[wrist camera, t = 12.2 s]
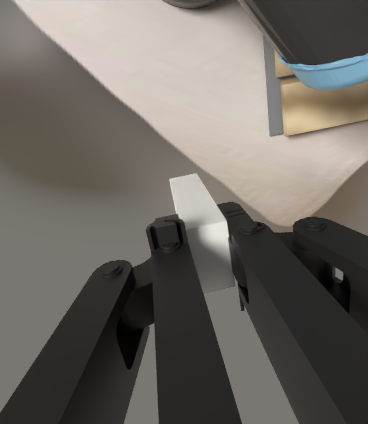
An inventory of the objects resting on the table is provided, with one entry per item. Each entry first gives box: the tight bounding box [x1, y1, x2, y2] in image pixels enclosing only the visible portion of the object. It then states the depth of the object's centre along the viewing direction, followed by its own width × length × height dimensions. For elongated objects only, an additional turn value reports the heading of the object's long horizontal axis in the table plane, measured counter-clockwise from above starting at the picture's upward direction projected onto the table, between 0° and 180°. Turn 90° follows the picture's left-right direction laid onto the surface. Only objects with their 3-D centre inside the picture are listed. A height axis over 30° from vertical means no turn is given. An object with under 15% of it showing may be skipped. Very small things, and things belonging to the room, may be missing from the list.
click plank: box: [280, 78, 368, 136], centre depth 44 cm, size 8×17×1 cm, turn 100°
